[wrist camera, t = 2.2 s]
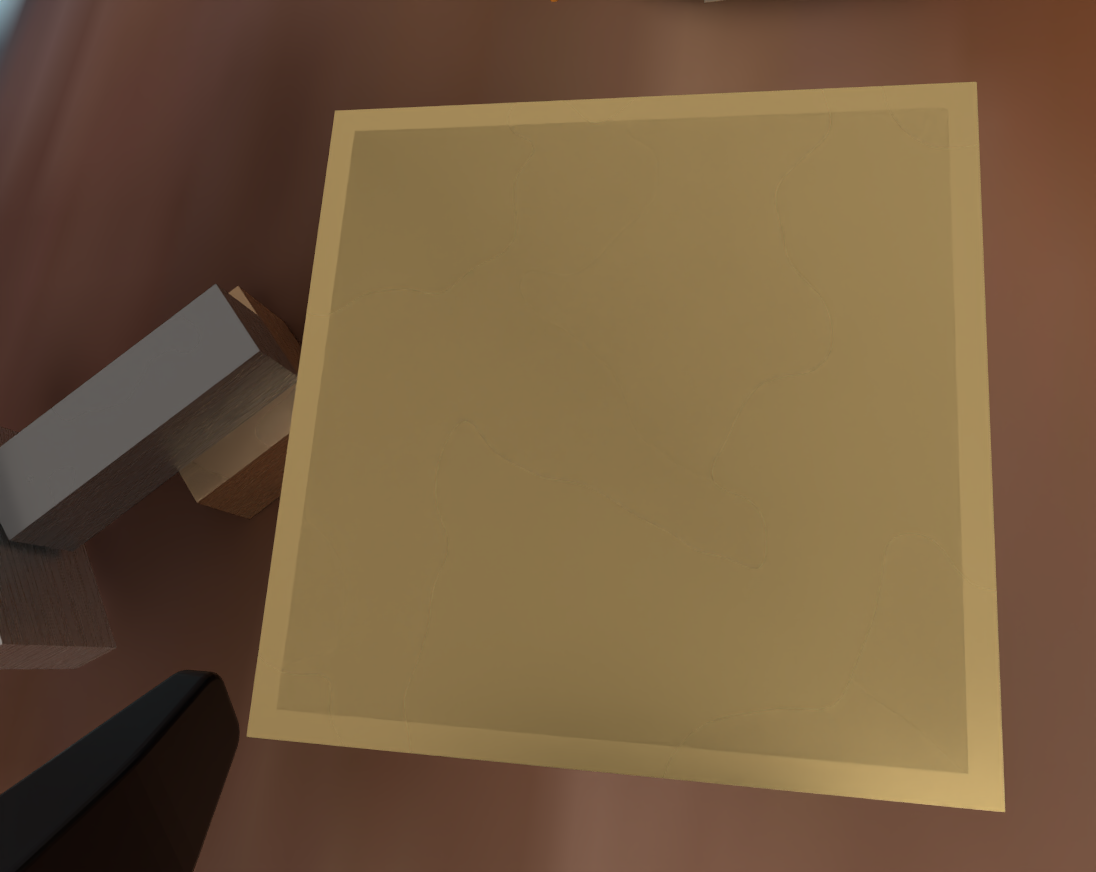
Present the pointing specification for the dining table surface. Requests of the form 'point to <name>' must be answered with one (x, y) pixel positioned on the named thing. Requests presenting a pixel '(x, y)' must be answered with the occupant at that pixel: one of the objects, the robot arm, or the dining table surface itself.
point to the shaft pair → (138, 462)
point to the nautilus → (704, 0)
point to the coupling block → (649, 445)
